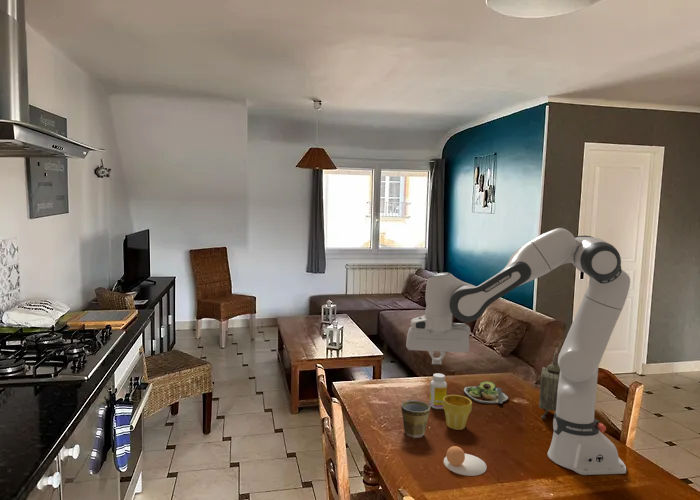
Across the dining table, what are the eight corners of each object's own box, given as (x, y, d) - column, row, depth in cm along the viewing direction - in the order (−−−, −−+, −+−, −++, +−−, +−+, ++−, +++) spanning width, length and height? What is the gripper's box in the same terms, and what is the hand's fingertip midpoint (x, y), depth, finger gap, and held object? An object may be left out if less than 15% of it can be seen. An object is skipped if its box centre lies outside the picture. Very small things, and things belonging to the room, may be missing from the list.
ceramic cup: (432, 439, 164) (434, 411, 163) (404, 441, 162) (405, 412, 161) (420, 422, 177) (422, 396, 176) (394, 424, 175) (395, 397, 174)
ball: (456, 439, 150) (443, 449, 151) (455, 448, 145) (442, 458, 146) (468, 453, 150) (455, 463, 151) (468, 462, 144) (454, 472, 146)
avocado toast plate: (519, 406, 196) (520, 395, 196) (478, 408, 193) (479, 397, 192) (496, 389, 215) (497, 379, 215) (459, 390, 212) (459, 380, 211)
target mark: (482, 455, 154) (482, 454, 154) (490, 477, 141) (490, 476, 141) (441, 452, 155) (441, 451, 155) (446, 474, 142) (446, 473, 142)
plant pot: (471, 434, 169) (472, 407, 168) (441, 430, 171) (442, 403, 170) (469, 421, 179) (471, 396, 178) (441, 418, 181) (443, 393, 180)
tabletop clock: (540, 406, 195) (544, 346, 193) (564, 411, 192) (569, 350, 190) (537, 420, 182) (542, 356, 180) (563, 425, 179) (568, 360, 177)
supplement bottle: (449, 407, 192) (451, 376, 190) (437, 411, 188) (439, 379, 187) (437, 401, 197) (439, 371, 196) (425, 405, 193) (427, 374, 192)
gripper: (468, 321, 158) (467, 362, 159) (406, 319, 159) (405, 359, 160) (472, 325, 151) (470, 368, 153) (407, 323, 153) (406, 365, 154)
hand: (436, 363), depth 156 cm, fingers closed
